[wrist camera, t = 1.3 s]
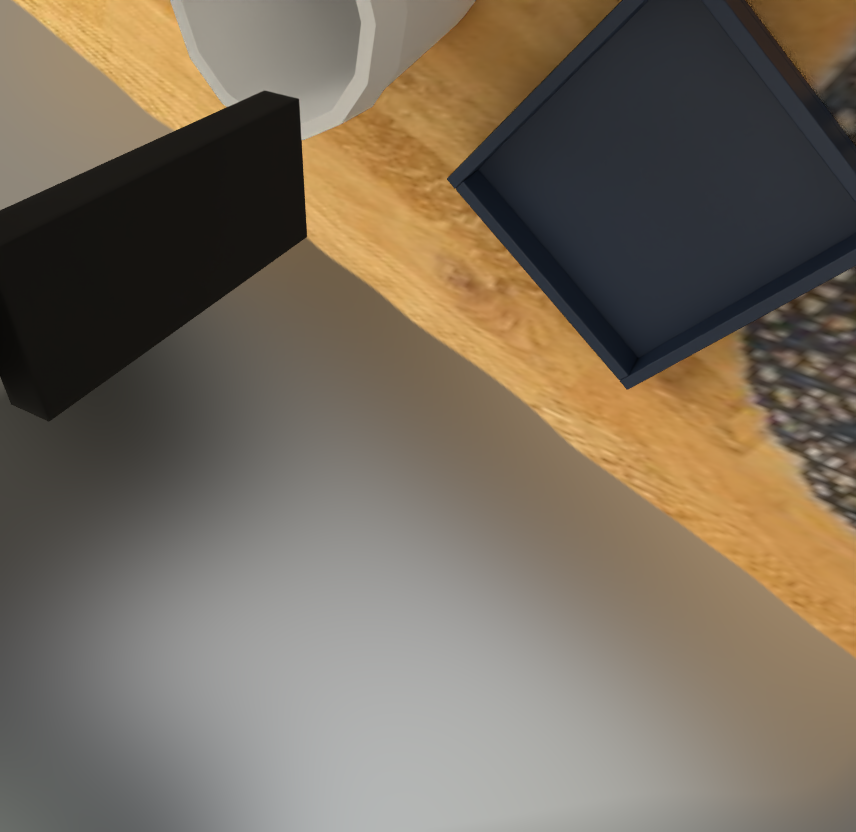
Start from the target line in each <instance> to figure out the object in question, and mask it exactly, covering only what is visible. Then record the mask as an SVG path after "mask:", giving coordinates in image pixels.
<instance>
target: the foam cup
mask: <svg viewBox="0 0 856 832" xmlns="http://www.w3.org/2000/svg"><path fill="white" fill-rule="evenodd" d="M170 1H171V4H172V7H173V10H174V13H175V16H176V19H177V22H178V25H179V27H180V30H181V33H182V36H183V39H184V42H185V45H186V48H187V51H188V53H189V56H190V59H191V60H192V61H193V63H194V64H195V66H196V67H197V68H198V70H199V71H200V73H201V74H202V76H203V77H204V78H205V80H206V81H207V83H208V84H209V85H210V87H211V88H212V90H213V91H214V93H215V94H216V95H217V97H218V98H219V100H220V101H221V102H222V104H224V105H225V106H226V107H229V106H231V105H233V104H235V103H238V102H240V101H242V100H244V99H246V98H249V97H251V96H253V95H255V94H257V93H260V92H262V91H264V90H265V91H269V92H273V93H277V94H282V95H286V96H290V97H294V98H298V99H299V105H300V123H301V140H305V139H307V138H310V137H312V136H314V135H317V134H319V133H321V132H324V131H326V130H329V129H331V128H333V127H336V126H338V125H340V124H342V123H344V122H346V121H348V120H350V119H351V118H353V117H355V116H357V115H359V114H360V113H362V112H364V111H366V110H368V109H369V108H371V107H372V106H373V105H374V103H375V102H376V100H377V99H378V98H379V96H380V95H381V93H382V92H383V90H384V89H385V88H386V87H387V86H389V85H390V84H391V83H392V82H393V81H394V80H395V79H396V78H397V77H399V76H400V75H401V74H402V73H403V72H404V71H405V70H406V69H408V68H409V67H410V66H411V65H412V64H413V63H414V62H415V61H416V60H418V59H419V58H420V57H421V56H422V55H423V54H424V53H425V52H427V51H428V50H429V49H430V48H431V47H432V46H433V45H434V44H435V43H437V42H438V41H439V40H440V39H441V38H442V37H443V36H444V35H445V34H447V33H448V32H449V31H450V30H451V29H452V28H453V27H454V26H456V25H457V24H458V23H459V21H460V20H461V19H463V17H464V16H465V15H466V13H467V12H468V10H469V9H470V8H471V6H472V5H473V4H474V2H475V1H476V0H170Z"/></svg>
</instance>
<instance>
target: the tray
mask: <svg viewBox="0 0 856 832" xmlns="http://www.w3.org/2000/svg"><path fill="white" fill-rule="evenodd" d="M447 180H448V181H449V182H450V184H451V185H452V186H453V187H454V188H456V190H457V191H458V193H459V194H460V195H461V196H462V197H463V198H464V200H465V201H466V202H467V203H468V204H469V205H470V207H471V208H472V209H473V210H474V211H475V212H476V214H477V215H478V216H479V217H480V218H481V219H482V221H483V222H484V223H485V224H486V225H487V226H488V228H489V229H490V230H491V231H492V232H493V233H494V235H495V236H496V237H497V238H498V239H499V240H500V242H501V243H502V244H503V245H504V246H505V247H506V249H507V250H508V251H509V252H510V253H511V254H512V256H513V257H514V258H515V259H516V260H517V261H518V263H519V264H520V265H521V266H522V267H523V268H524V270H525V271H526V272H527V273H528V274H529V275H530V277H531V278H532V279H533V280H534V281H535V282H536V284H537V285H538V286H539V287H540V288H541V289H542V291H543V292H544V293H545V294H546V295H547V296H548V298H549V299H550V300H551V301H552V302H553V303H554V305H555V306H556V307H557V308H558V309H559V310H560V312H561V313H562V314H563V315H564V316H565V317H566V319H567V320H568V321H569V322H570V323H571V324H572V326H573V327H574V328H575V329H576V330H577V331H578V333H579V334H580V335H581V336H582V337H583V338H584V340H585V341H586V342H587V343H588V344H589V345H590V347H591V348H592V349H593V350H594V351H595V352H596V354H597V355H598V356H599V357H600V358H601V359H602V361H603V362H604V363H605V364H606V365H607V366H608V368H609V369H610V370H611V371H612V372H613V373H614V375H615V376H616V377H617V378H618V379H619V380H620V382H621V383H622V384H623V385H624V387H625V388H626V389H627V390H628V389H630V388H632V387H633V386H635V385H637V384H639V383H641V382H643V381H644V380H646V379H648V378H650V377H652V376H654V375H655V374H657V373H659V372H661V371H663V370H665V369H666V368H668V367H670V366H672V365H674V364H676V363H677V362H679V361H681V360H683V359H685V358H687V357H689V356H690V355H692V354H694V353H696V352H698V351H700V350H701V349H703V348H705V347H707V346H709V345H711V344H712V343H714V342H716V341H718V340H720V339H722V338H723V337H725V336H727V335H729V334H731V333H733V332H734V331H736V330H738V329H740V328H742V327H744V326H745V325H747V324H749V323H751V322H753V321H755V320H757V319H758V318H760V317H762V316H764V315H766V314H768V313H769V312H771V311H773V310H775V309H777V308H779V307H780V306H782V305H784V304H786V303H788V302H790V301H791V300H793V299H795V298H797V297H799V296H801V295H802V294H804V293H806V292H808V291H810V290H812V289H813V288H815V287H817V286H819V285H821V284H823V283H825V282H826V281H828V280H830V279H832V278H834V277H836V276H837V275H839V274H841V273H843V272H845V271H847V270H848V269H850V268H852V267H854V266H856V147H855V145H854V144H853V143H852V141H851V140H850V139H849V137H848V136H847V135H846V133H845V132H844V131H843V129H842V128H841V127H840V125H839V124H838V123H837V121H836V120H835V119H834V117H833V116H832V115H831V113H830V112H829V111H828V109H827V108H826V107H825V105H824V104H823V103H822V101H821V100H820V99H819V97H818V96H817V95H816V93H815V92H814V91H813V89H812V88H811V87H810V85H809V84H808V83H807V82H806V80H805V79H804V78H803V76H802V75H801V74H800V72H799V71H798V70H797V68H796V67H795V66H794V64H793V63H792V62H791V60H790V59H789V58H788V56H787V55H786V54H785V52H784V51H783V50H782V48H781V47H780V46H779V44H778V43H777V42H776V40H775V39H774V38H773V36H772V35H771V34H770V32H769V31H768V30H767V28H766V27H765V26H764V24H763V23H762V22H761V20H760V19H759V18H758V16H757V15H756V14H755V12H754V11H753V10H752V8H751V7H750V6H749V5H748V3H747V2H746V1H745V0H622V1H621V2H620V3H619V4H618V5H617V6H616V7H615V8H614V9H613V10H612V11H611V12H610V13H609V14H608V15H607V16H606V17H605V18H604V19H603V20H602V21H601V22H600V23H599V24H598V25H597V26H596V27H595V28H594V29H593V30H592V31H591V32H590V33H589V34H588V35H587V36H586V37H585V38H584V39H583V41H582V42H581V43H580V44H579V45H578V46H577V47H576V48H575V49H574V50H573V51H572V52H571V53H570V54H569V55H568V56H567V57H566V58H565V59H564V60H563V61H562V62H561V63H560V64H559V65H558V66H557V67H556V68H555V69H554V70H553V71H552V72H551V73H550V74H549V75H548V76H547V77H546V78H545V79H544V80H543V81H542V82H541V83H540V84H539V85H538V86H537V87H536V88H535V89H534V90H533V91H532V92H531V93H530V94H529V96H528V97H527V98H526V99H525V100H524V101H523V102H522V103H521V104H520V105H519V106H518V107H517V108H516V109H515V110H514V111H513V112H512V113H511V114H510V115H509V116H508V117H507V118H506V119H505V120H504V121H503V122H502V123H501V124H500V125H499V126H498V127H497V128H496V129H495V130H494V131H493V132H492V133H491V134H490V135H489V136H488V137H487V138H486V139H485V140H484V141H483V142H482V143H481V144H480V145H479V146H478V147H477V148H476V150H475V151H474V152H473V153H472V154H471V155H470V156H469V157H468V158H467V159H466V160H465V161H464V162H463V163H462V164H461V165H460V166H459V167H458V168H457V169H456V170H455V171H454V172H453V173H452V174H451V175H450V176H449V177H448V178H447Z"/></svg>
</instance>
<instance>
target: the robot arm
mask: <svg viewBox="0 0 856 832" xmlns="http://www.w3.org/2000/svg"><path fill="white" fill-rule="evenodd" d="M306 237H307V228H306V211H305V193H304V176H303V158H302V141H301V123H300V105H299V99H298V98H294V97H290V96H286V95H282V94H277V93H273V92H269V91H265V90H264V91H262V92H260V93H257V94H255V95H253V96H251V97H249V98H246V99H244V100H242V101H240V102H238V103H235V104H233V105H231V106H229V107H227V108H224V109H222V110H220V111H218V112H216V113H213V114H211V115H209V116H207V117H205V118H202V119H200V120H198V121H196V122H194V123H191V124H189V125H187V126H185V127H183V128H180V129H178V130H176V131H174V132H172V133H169V134H167V135H165V136H163V137H161V138H159V139H156V140H154V141H152V142H150V143H148V144H145V145H143V146H141V147H139V148H137V149H134V150H132V151H130V152H128V153H126V154H123V155H121V156H119V157H117V158H115V159H112V160H110V161H108V162H106V163H104V164H101V165H99V166H97V167H95V168H93V169H91V170H88V171H86V172H84V173H82V174H79V175H77V176H75V177H73V178H71V179H68V180H66V181H64V182H62V183H60V184H57V185H55V186H53V187H51V188H49V189H46V190H44V191H42V192H40V193H38V194H36V195H33V196H31V197H29V198H27V199H24V200H22V201H20V202H18V203H16V204H14V205H11V206H9V207H7V208H5V209H2V210H0V377H1V379H2V382H3V385H4V387H5V389H6V392H7V394H8V397H9V400H10V402H11V404H12V405H14V406H16V407H18V408H21V409H23V410H25V411H27V412H29V413H32V414H34V415H36V416H38V417H40V418H42V419H45V420H47V421H50V420H52V419H53V418H55V417H56V416H57V415H59V414H60V413H62V412H63V411H64V410H66V409H67V408H69V407H70V406H71V405H73V404H74V403H75V402H77V401H78V400H80V399H81V398H83V397H84V396H85V395H87V394H88V393H89V392H91V391H92V390H94V389H95V388H96V387H98V386H99V385H101V384H102V383H103V382H105V381H106V380H108V379H109V378H110V377H112V376H113V375H115V374H116V373H118V372H119V371H120V370H122V369H123V368H124V367H126V366H127V365H129V364H130V363H131V362H133V361H134V360H136V359H137V358H138V357H140V356H141V355H143V354H144V353H145V352H147V351H148V350H150V349H151V348H152V347H154V346H155V345H156V344H158V343H159V342H161V341H162V340H164V339H165V338H166V337H168V336H169V335H170V334H172V333H173V332H175V331H176V330H178V329H179V328H180V327H182V326H183V325H184V324H186V323H187V322H188V321H190V320H191V319H193V318H194V317H196V316H197V315H198V314H200V313H201V312H203V311H204V310H205V309H207V308H208V307H210V306H211V305H212V304H214V303H215V302H217V301H218V300H219V299H221V298H222V297H224V296H225V295H226V294H228V293H229V292H230V291H232V290H233V289H235V288H236V287H238V286H239V285H240V284H242V283H243V282H244V281H246V280H247V279H249V278H250V277H252V276H253V275H254V274H256V273H257V272H258V271H260V270H261V269H263V268H264V267H266V266H267V265H268V264H269V263H271V262H273V261H274V260H275V259H276V258H278V257H279V256H281V255H282V254H284V253H285V252H286V251H288V250H289V249H291V248H292V247H293V246H295V245H296V244H298V243H299V242H300V241H302V240H303V239H305V238H306Z"/></svg>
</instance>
